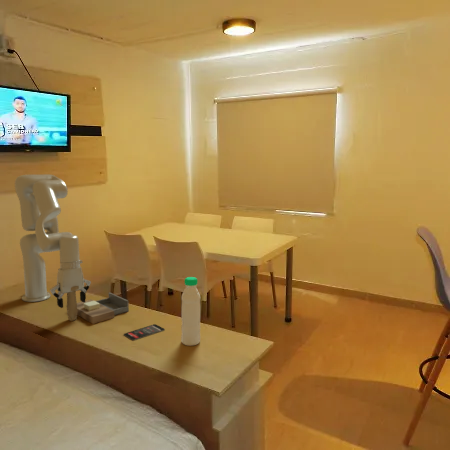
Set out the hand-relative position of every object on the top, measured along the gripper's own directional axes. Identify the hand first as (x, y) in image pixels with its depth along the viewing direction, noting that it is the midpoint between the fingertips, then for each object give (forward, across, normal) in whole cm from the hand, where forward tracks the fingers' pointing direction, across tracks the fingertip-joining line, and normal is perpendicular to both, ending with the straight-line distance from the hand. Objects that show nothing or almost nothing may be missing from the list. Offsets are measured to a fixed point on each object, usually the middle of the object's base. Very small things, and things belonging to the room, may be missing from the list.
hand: (71, 304), depth 174 cm
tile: (+4, -9, 0) cm, 10 cm away
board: (+7, -9, 0) cm, 11 cm away
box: (+7, -18, 0) cm, 20 cm away
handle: (+7, 0, 0) cm, 7 cm away
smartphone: (+8, -15, +31) cm, 35 cm away
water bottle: (+8, -22, +51) cm, 56 cm away
